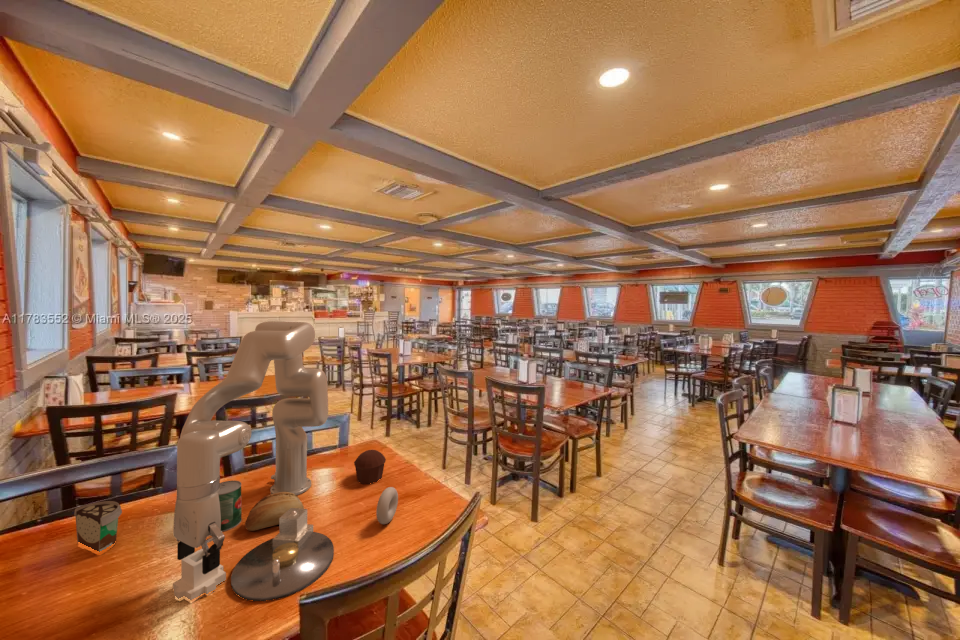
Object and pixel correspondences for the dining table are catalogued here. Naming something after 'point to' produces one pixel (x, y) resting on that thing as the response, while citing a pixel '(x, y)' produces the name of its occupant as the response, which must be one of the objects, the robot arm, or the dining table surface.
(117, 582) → the dining table surface
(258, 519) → the bread roll
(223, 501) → the canned tomato
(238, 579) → the carrier
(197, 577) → the hollow square tube block
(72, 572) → the dining table surface
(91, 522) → the food container
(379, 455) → the muffin
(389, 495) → the donut
